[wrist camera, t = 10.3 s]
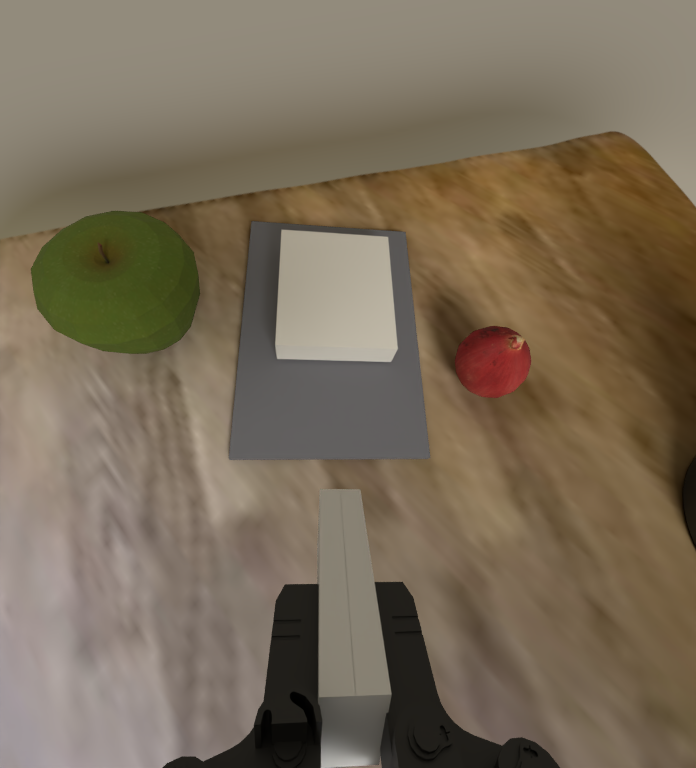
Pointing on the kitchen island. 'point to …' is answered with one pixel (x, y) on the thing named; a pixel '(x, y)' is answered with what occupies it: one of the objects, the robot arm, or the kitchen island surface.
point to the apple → (117, 283)
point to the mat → (324, 375)
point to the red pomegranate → (493, 361)
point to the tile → (335, 298)
